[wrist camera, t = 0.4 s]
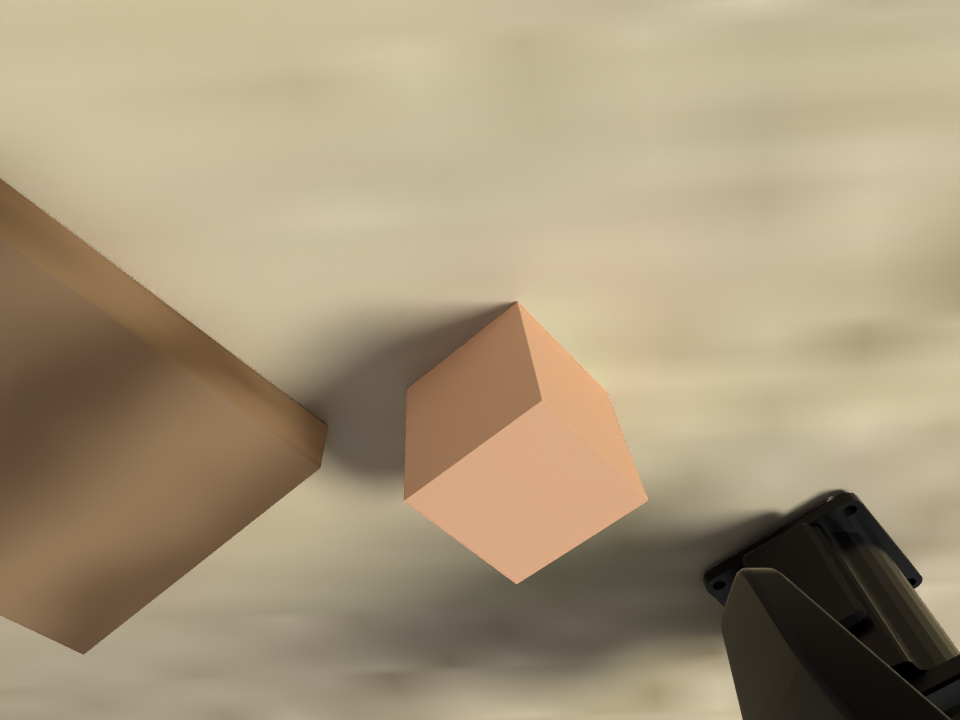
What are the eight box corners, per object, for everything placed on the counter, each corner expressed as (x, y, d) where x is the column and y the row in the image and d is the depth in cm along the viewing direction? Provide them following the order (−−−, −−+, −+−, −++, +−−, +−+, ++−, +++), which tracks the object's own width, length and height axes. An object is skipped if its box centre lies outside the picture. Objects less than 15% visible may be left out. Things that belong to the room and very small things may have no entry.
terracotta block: (606, 390, 23) (648, 500, 19) (499, 466, 24) (516, 584, 20) (517, 300, 21) (542, 400, 17) (406, 388, 22) (403, 500, 18)
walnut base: (327, 425, 23) (320, 467, 21) (104, 606, 26) (83, 654, 25) (-44, 145, 17) (-93, 171, 16) (-258, 421, 21) (-317, 465, 19)
